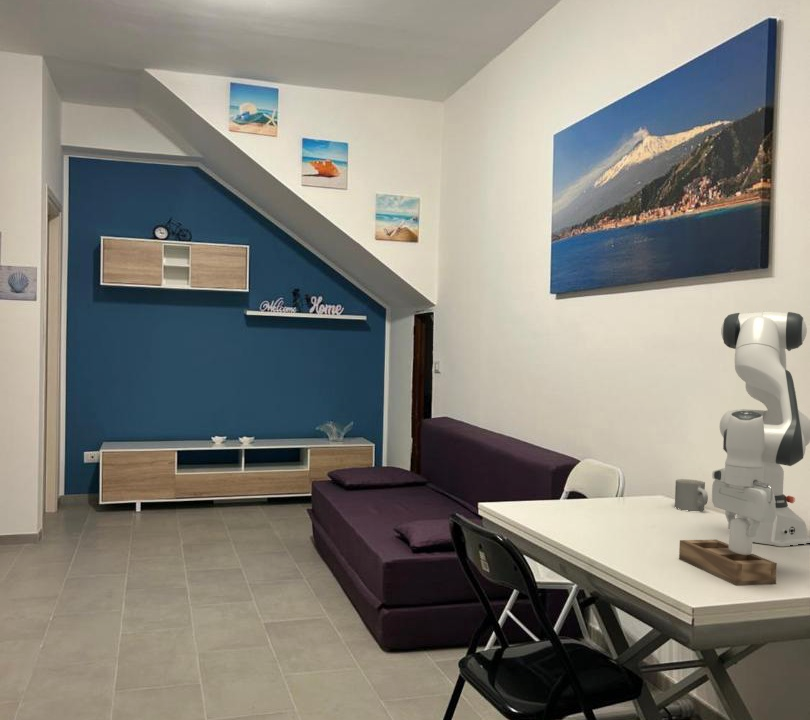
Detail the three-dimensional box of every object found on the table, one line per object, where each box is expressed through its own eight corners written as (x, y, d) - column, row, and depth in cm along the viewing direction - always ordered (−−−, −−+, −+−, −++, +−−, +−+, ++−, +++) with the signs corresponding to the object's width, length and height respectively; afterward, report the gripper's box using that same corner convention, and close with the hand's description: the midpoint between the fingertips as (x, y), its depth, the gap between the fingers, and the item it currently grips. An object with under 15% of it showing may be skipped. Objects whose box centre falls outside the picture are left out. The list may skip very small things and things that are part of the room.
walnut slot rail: (715, 557, 213) (716, 539, 213) (775, 583, 190) (776, 563, 190) (679, 558, 211) (679, 540, 211) (735, 585, 187) (736, 564, 187)
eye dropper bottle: (744, 549, 197) (748, 502, 197) (753, 556, 192) (757, 507, 191) (726, 548, 197) (730, 501, 197) (734, 554, 192) (738, 506, 191)
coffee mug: (669, 506, 288) (670, 478, 288) (694, 506, 289) (695, 479, 289) (688, 513, 275) (689, 485, 275) (714, 513, 276) (715, 485, 276)
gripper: (784, 484, 185) (781, 543, 185) (729, 470, 205) (727, 523, 205) (760, 484, 183) (758, 543, 184) (708, 470, 203) (706, 524, 203)
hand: (741, 533), depth 194 cm, fingers closed on eye dropper bottle, 6 cm apart
